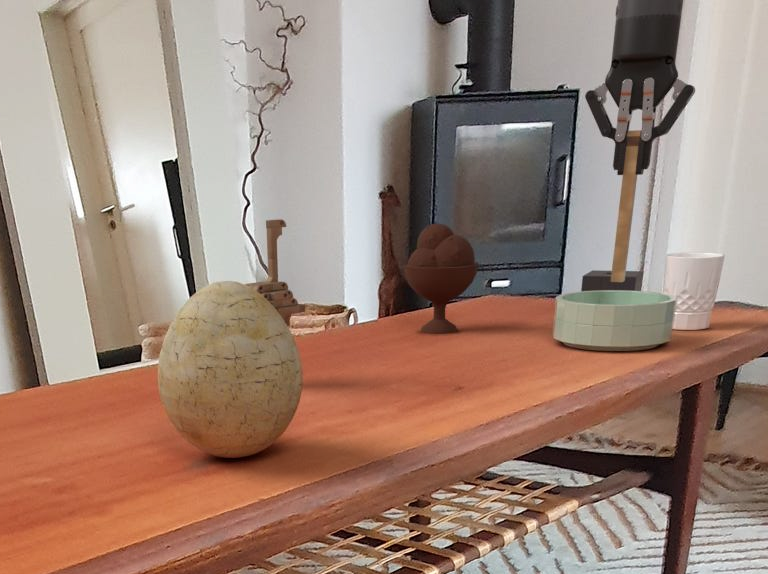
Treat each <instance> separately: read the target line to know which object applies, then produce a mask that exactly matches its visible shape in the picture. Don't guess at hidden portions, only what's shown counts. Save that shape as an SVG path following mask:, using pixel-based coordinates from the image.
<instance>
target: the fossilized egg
mask: <svg viewBox="0 0 768 574" xmlns="http://www.w3.org/2000/svg"><path fill="white" fill-rule="evenodd" d="M156 373H157V387H158V388H157V389H158V393H159V397H160V401H161V404H162V407H163V409H164V412H165V413H166V415H167V417H168V419H169V421H170V423H171V424H172V426H173V427H174V428H175V430H176V431H177V432H178V433H179V435H180V436H181V437H182V438H183V439H184V440H185V441H187V442H188V443H189V444H191V445H192V446H194V447H195V448H196V449H198V450H199V451H202V452H204V453H206V454H209V455H211V456H214V457H219V458H226V459H227V458H228V459H236V458H237V459H238V458H244V457H249V456H253V455H256V454H258V453H259V452H262V451H264V450H265V449H267V448H269V447H270V446H272V444H274V443H275V442H276V441H277V440H278V439H279V438H281V436H282V435H283V434H284V433H285V432H286V430H287V429H288V428H289V426H290V424H291V422H292V421H293V419H294V417H295V415H296V412H297V410H298V407H299V405H300V401H301V397H302V393H303V392H302V391H303V385H304V384H303V379H304V378H303V365H302V361H301V356H300V352H299V348H298V346H297V343H296V340H295V338H294V336H293V333H292V332H291V330H290V328H289V326H287V325H286V323H285V321H284V320H283V318H282V317H281V315H280V314H279V313H278V312H277V310H276V309H275V308H274V307H273V305H272V304H271V303H270V302H269V301H268V300H267V299H266V298H264V297H263V296H262V295H261V294H260V293H258V292H257V291H255V290H254V289H252V288H251V287H249V286H247V285H245V284H244V283H242V282H239V281H233V280H221V281H216V282H215V281H214V282H212V283H209V284H208V285H207V284H206V285H205V286H203V287H202V288H200V289H199V290H197V291H196V292H195V293H193V294H192V295H191V296H190V297H189V298H188V299H187V300H186V302H185V303H184V304H183V305H182V306H181V307H180V308H179V309H178V312H177V313H176V315H175V317H174V318H173V319H172V321H171V323H170V325H169V327H168V330H167V332H166V333H165V336H164V338H163V342H162V345H161V349H160V351H159V356H158V364H157V372H156Z"/></svg>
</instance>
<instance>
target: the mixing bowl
mask: <svg viewBox="0 0 768 574" xmlns="http://www.w3.org/2000/svg"><path fill="white" fill-rule="evenodd" d="M677 299H678V298H677V297H675V296H673V295H669V294H664V293H663V292H655V291H647V290H646V291H645V290H641V291H628V290H597V291H581V290H580V291H573V292H572V291H571V292H566V293H565V292H564V293H561V294H559V295H557V296H555V300H554V312H553V322H552V323H553V324H552V332H551V336H552V338H553V339H554V340H556V341H559V342H561V343H562V344H563V345H565V346H567V347H570V348H574V349H579V350H587V351H596V352H597V351H600V352H634V351H645V350H651V349H654V348H657V347H659V345H661V344H664V343H667V342H670V341H671V340H672V338H673V334H674V333H673V332H674V329H673V327H674V320H675V313H676V306H677Z"/></svg>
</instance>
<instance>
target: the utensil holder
mask: <svg viewBox="0 0 768 574" xmlns="http://www.w3.org/2000/svg"><path fill="white" fill-rule="evenodd" d="M611 273H612V270H590V271H589V272H587V273H585V274H584V275H582V279H581V287H580V288H581V289H580V291H597V290H628V291H642V286H643V280H644V279H643V278H644V270H626V273H625V281H624V282H611Z"/></svg>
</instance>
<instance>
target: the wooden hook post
mask: <svg viewBox="0 0 768 574" xmlns="http://www.w3.org/2000/svg"><path fill="white" fill-rule="evenodd" d="M286 227H287V222H286V221H285V220H284V219H282V218H281V219H279V218H277V219H266V220H265V228H266V250H267V279H266V280H264V281H263V280H262V281H257V282H249V283H245V284H244V285H247V286H249V287H251V288H252V289H254V290H255V291H257V292H258V293H260V294H261V295H262V296H263V297H264V298H266V299H267V300H268V301H269V302H270V303H271V304H272V305H273V307H274V308H275V309H276V310H277V312H278V313H279V314H280V315H281V317H282V318H283V320H284V321H285V323H286V325H287V326H288V327H290V326H291V318H292V315H295V314H301V313H305V312H306V304H304V303H299V302H298V299H296V298H295V297H294V293H293V292H292V290H290V289H289V285H288V283H286V281H279V264H278V239H279V237H280V236H282V235H283V228H286Z"/></svg>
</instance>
